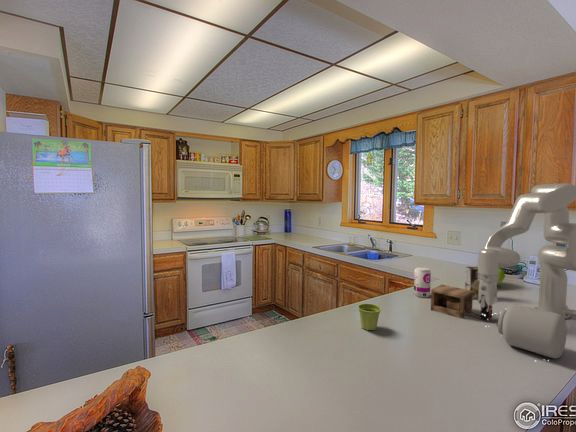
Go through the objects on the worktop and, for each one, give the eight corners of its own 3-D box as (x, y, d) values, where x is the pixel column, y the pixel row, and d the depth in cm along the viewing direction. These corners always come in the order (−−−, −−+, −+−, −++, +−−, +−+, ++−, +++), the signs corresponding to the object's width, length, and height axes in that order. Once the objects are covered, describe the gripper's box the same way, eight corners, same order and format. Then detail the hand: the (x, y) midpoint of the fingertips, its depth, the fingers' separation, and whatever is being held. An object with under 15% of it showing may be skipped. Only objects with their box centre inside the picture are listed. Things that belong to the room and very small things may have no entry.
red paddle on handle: (492, 319, 136) (492, 306, 135) (488, 322, 132) (489, 308, 132) (450, 308, 148) (451, 296, 148) (446, 311, 145) (447, 299, 145)
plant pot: (380, 324, 130) (381, 304, 130) (381, 334, 121) (381, 312, 121) (358, 322, 133) (358, 302, 132) (357, 331, 124) (357, 310, 123)
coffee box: (469, 299, 162) (470, 269, 161) (464, 295, 168) (465, 266, 167) (488, 299, 161) (489, 269, 160) (481, 296, 167) (483, 266, 166)
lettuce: (501, 297, 172) (471, 294, 183) (509, 280, 187) (481, 279, 198) (496, 272, 171) (466, 271, 182) (505, 258, 186) (477, 257, 197)
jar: (547, 357, 94) (466, 318, 116) (552, 379, 101) (475, 339, 122) (575, 311, 99) (493, 282, 120) (578, 335, 106) (500, 304, 127)
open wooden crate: (472, 311, 145) (472, 290, 144) (462, 318, 137) (463, 296, 136) (441, 304, 155) (441, 284, 154) (430, 310, 147) (431, 289, 146)
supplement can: (433, 296, 166) (434, 269, 165) (421, 298, 163) (422, 270, 162) (421, 292, 174) (422, 266, 173) (410, 294, 171) (411, 267, 170)
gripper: (492, 282, 126) (490, 326, 127) (503, 275, 137) (501, 316, 138) (471, 279, 131) (470, 321, 132) (484, 272, 142) (482, 311, 143)
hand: (486, 318), depth 135 cm, fingers closed on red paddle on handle, 3 cm apart
